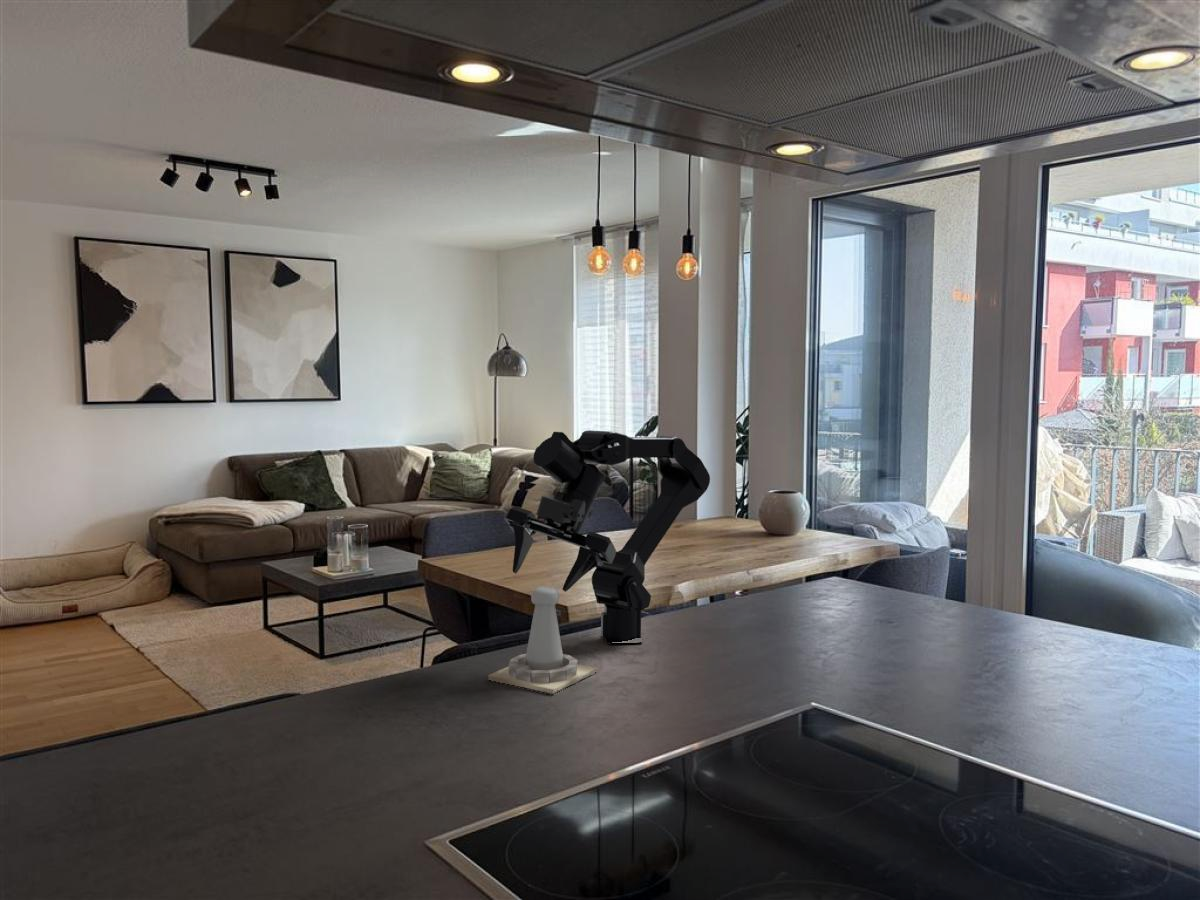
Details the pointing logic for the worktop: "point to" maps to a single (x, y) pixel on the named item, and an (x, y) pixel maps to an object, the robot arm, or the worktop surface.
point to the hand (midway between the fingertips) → (538, 581)
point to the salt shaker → (544, 631)
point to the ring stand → (541, 674)
